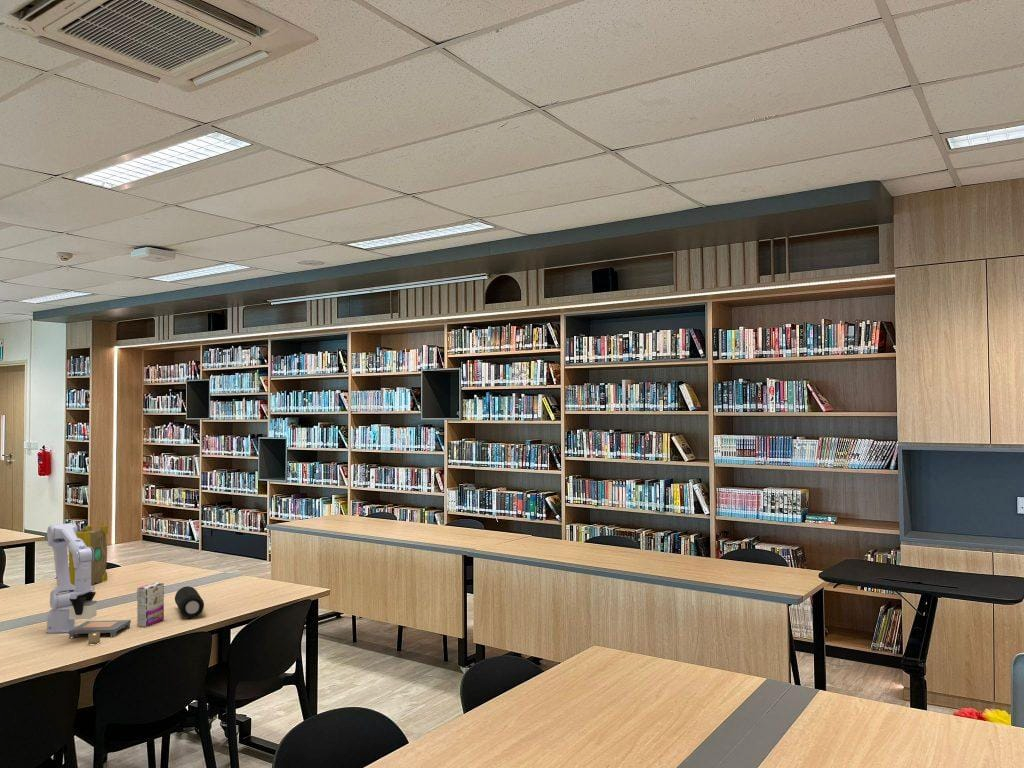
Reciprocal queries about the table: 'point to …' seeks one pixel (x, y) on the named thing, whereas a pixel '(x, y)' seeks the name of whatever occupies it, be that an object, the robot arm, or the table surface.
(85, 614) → the housing
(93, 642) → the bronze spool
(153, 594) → the candy bar box
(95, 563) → the decorative book
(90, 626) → the stand
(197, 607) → the portable speaker
